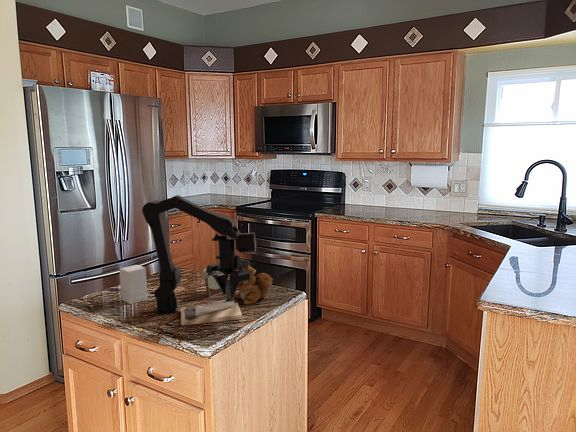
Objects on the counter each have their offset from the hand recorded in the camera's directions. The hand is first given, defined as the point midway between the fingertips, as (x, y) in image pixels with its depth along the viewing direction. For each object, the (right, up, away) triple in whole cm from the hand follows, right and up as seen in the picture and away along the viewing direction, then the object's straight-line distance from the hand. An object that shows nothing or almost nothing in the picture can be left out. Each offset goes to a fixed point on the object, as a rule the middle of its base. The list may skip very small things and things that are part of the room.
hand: (228, 295), depth 158 cm
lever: (-6, -5, -5) cm, 9 cm away
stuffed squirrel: (+8, -4, +13) cm, 15 cm away
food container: (-9, -3, +20) cm, 22 cm away
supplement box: (-38, -4, +13) cm, 40 cm away
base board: (-6, -6, -3) cm, 9 cm away
